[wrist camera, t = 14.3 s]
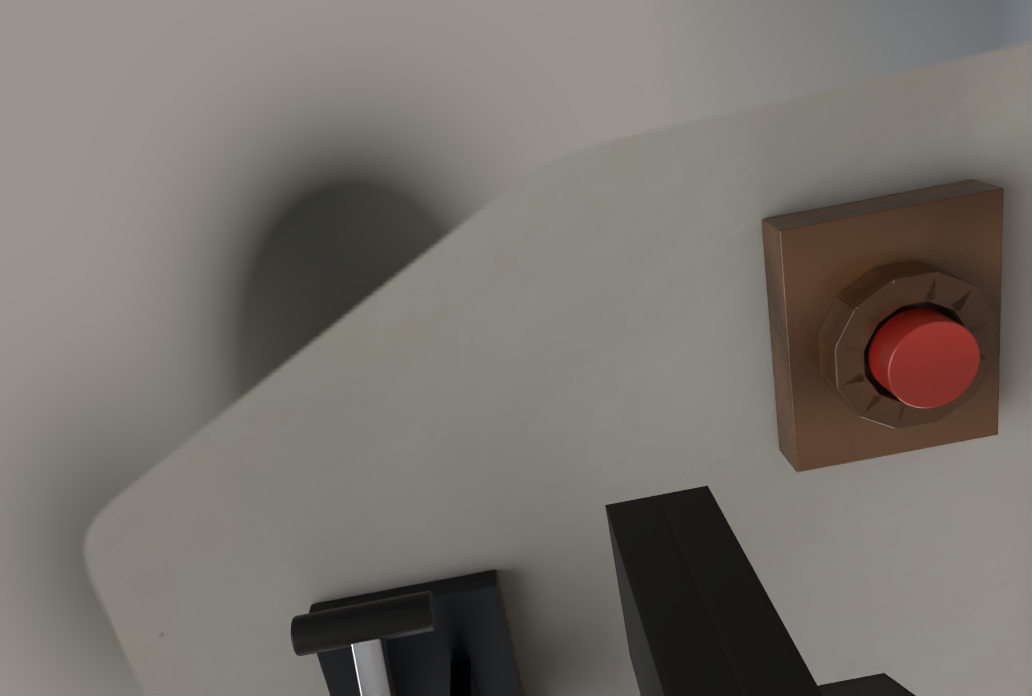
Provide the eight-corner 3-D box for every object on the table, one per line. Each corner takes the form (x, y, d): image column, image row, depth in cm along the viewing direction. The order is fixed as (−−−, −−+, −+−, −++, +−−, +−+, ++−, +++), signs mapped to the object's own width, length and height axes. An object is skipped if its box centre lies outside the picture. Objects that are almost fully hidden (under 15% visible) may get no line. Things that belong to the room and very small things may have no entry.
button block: (761, 219, 36) (796, 241, 32) (972, 179, 36) (1032, 196, 32) (779, 450, 40) (812, 493, 36) (970, 414, 40) (1023, 453, 36)
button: (866, 316, 34) (886, 331, 32) (956, 299, 34) (981, 313, 32) (869, 398, 35) (889, 416, 34) (955, 382, 35) (980, 399, 34)
